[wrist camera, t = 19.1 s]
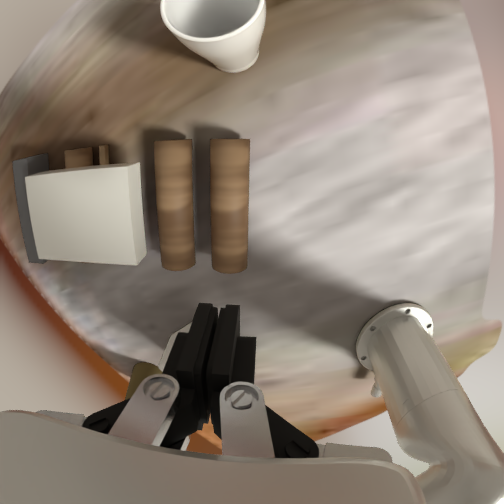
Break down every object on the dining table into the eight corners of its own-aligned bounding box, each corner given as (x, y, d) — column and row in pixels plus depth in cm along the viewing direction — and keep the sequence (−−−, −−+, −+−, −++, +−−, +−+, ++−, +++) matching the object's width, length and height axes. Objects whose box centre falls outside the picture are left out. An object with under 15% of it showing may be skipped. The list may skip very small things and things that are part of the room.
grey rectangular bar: (60, 250, 37) (43, 263, 33) (46, 249, 37) (29, 262, 33) (47, 153, 32) (26, 158, 28) (33, 155, 32) (12, 161, 28)
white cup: (202, 80, 29) (154, 48, 15) (204, 26, 26) (162, -34, 12) (265, 80, 28) (265, 41, 14) (266, 25, 26) (266, -42, 12)
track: (248, 258, 36) (246, 274, 33) (81, 251, 37) (66, 263, 33) (250, 138, 31) (248, 140, 27) (69, 149, 32) (50, 153, 28)
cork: (157, 360, 44) (136, 413, 34) (172, 386, 46) (156, 437, 36) (127, 363, 45) (103, 411, 35) (143, 387, 47) (124, 435, 37)
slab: (146, 253, 32) (136, 265, 29) (52, 249, 33) (38, 258, 30) (139, 162, 28) (127, 166, 25) (40, 172, 29) (24, 177, 26)
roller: (109, 254, 37) (89, 265, 33) (92, 250, 38) (73, 259, 35) (98, 146, 31) (75, 150, 28) (80, 148, 32) (59, 152, 29)
